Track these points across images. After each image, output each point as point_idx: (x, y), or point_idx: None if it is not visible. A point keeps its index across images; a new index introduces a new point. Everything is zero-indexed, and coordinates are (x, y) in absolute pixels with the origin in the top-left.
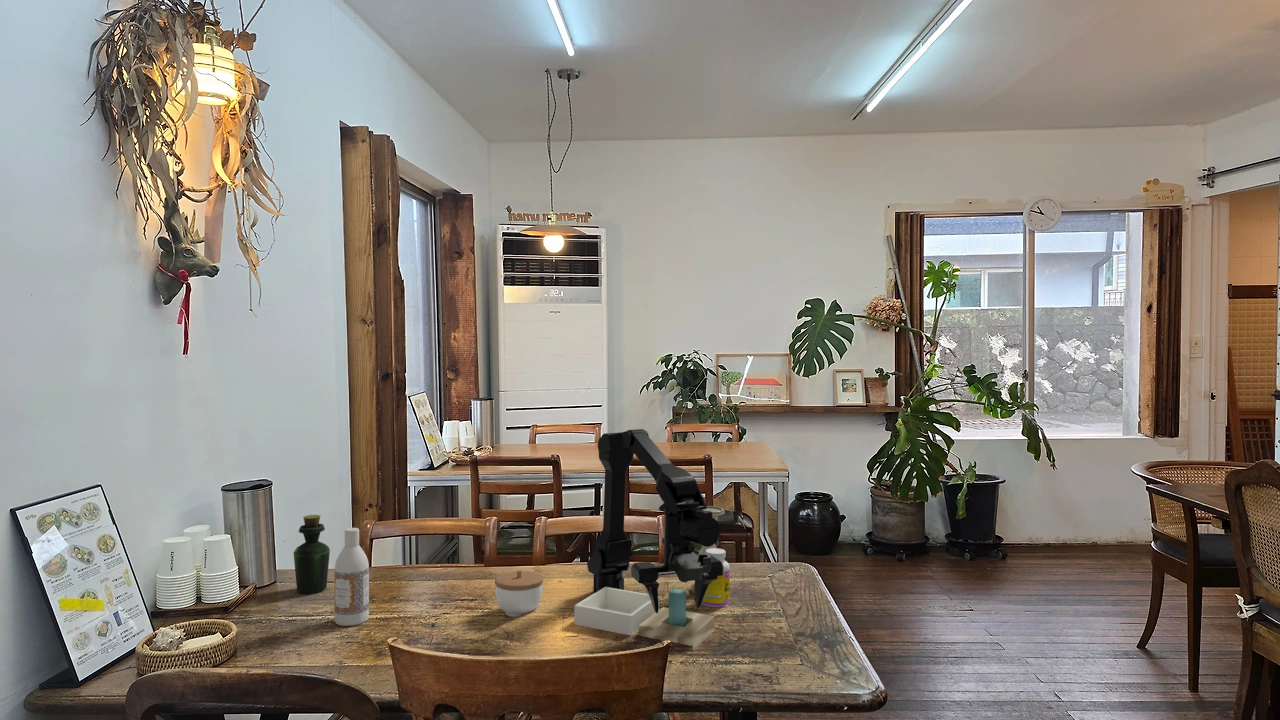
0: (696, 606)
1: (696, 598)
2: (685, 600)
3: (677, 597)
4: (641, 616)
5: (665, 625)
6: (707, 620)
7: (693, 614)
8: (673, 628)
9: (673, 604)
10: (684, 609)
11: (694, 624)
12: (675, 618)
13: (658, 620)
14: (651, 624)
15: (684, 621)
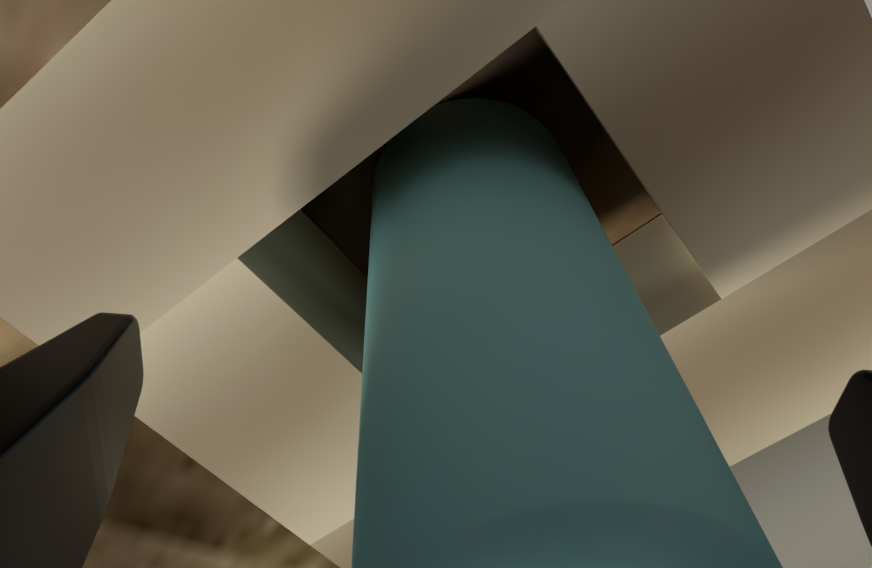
0: (136, 369)
1: (83, 483)
2: (428, 406)
3: (693, 468)
4: (829, 488)
5: (736, 194)
6: (46, 120)
7: (176, 377)
8: (712, 48)
9: (687, 394)
10: (453, 280)
11: (323, 54)
12: (597, 227)
13: (694, 367)
14: (861, 292)
15: (436, 186)
